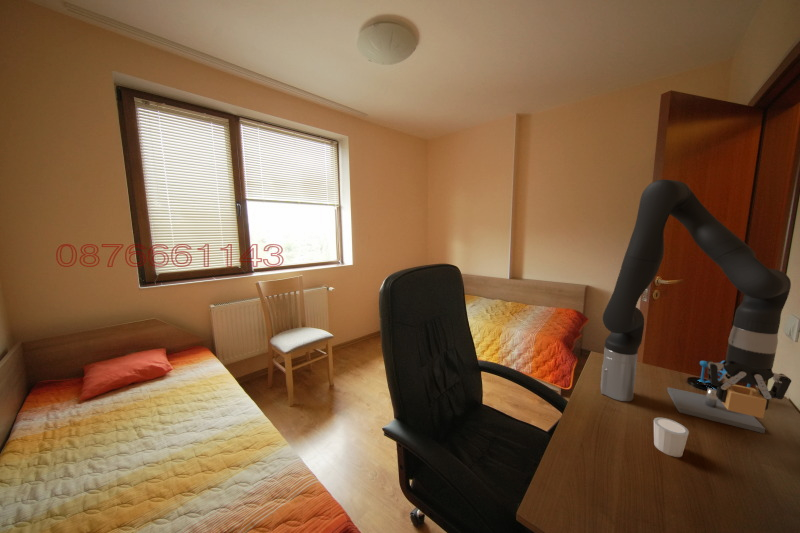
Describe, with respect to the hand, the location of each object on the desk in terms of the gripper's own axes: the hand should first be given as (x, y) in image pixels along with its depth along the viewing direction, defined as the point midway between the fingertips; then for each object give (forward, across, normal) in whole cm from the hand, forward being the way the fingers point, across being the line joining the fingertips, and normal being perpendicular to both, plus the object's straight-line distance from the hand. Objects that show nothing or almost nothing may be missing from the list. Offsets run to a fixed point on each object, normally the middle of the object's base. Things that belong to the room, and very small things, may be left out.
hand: (740, 404), depth 73 cm
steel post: (+12, +1, +20) cm, 23 cm away
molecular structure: (+14, +9, +37) cm, 40 cm away
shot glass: (+13, -15, -9) cm, 22 cm away
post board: (+13, +1, +20) cm, 24 cm away
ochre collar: (+1, 0, 0) cm, 1 cm away
